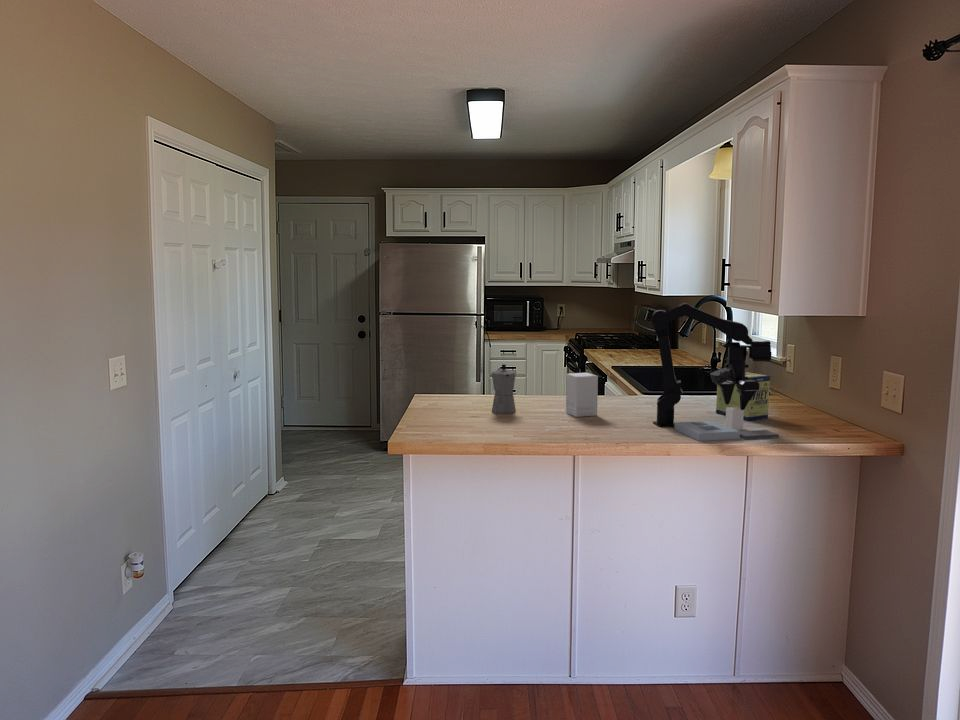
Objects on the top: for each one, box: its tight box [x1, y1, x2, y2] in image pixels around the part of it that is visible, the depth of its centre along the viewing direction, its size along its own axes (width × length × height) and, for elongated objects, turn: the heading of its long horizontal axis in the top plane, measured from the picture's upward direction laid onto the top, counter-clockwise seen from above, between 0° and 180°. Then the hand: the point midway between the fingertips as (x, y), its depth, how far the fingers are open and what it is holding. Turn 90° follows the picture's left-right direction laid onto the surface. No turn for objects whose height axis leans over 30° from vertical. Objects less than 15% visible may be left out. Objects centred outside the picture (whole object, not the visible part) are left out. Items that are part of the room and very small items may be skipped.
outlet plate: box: [674, 420, 741, 442], centre depth 224 cm, size 16×14×2 cm
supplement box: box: [565, 372, 599, 418], centre depth 254 cm, size 9×9×15 cm
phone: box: [739, 429, 780, 440], centre depth 221 cm, size 6×12×1 cm, turn 101°
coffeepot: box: [491, 364, 517, 415], centre depth 261 cm, size 15×9×18 cm, turn 11°
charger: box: [725, 407, 744, 431], centre depth 231 cm, size 4×4×7 cm
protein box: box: [715, 371, 771, 422], centre depth 251 cm, size 10×16×16 cm
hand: (734, 407), depth 230 cm, fingers open, 9 cm apart
